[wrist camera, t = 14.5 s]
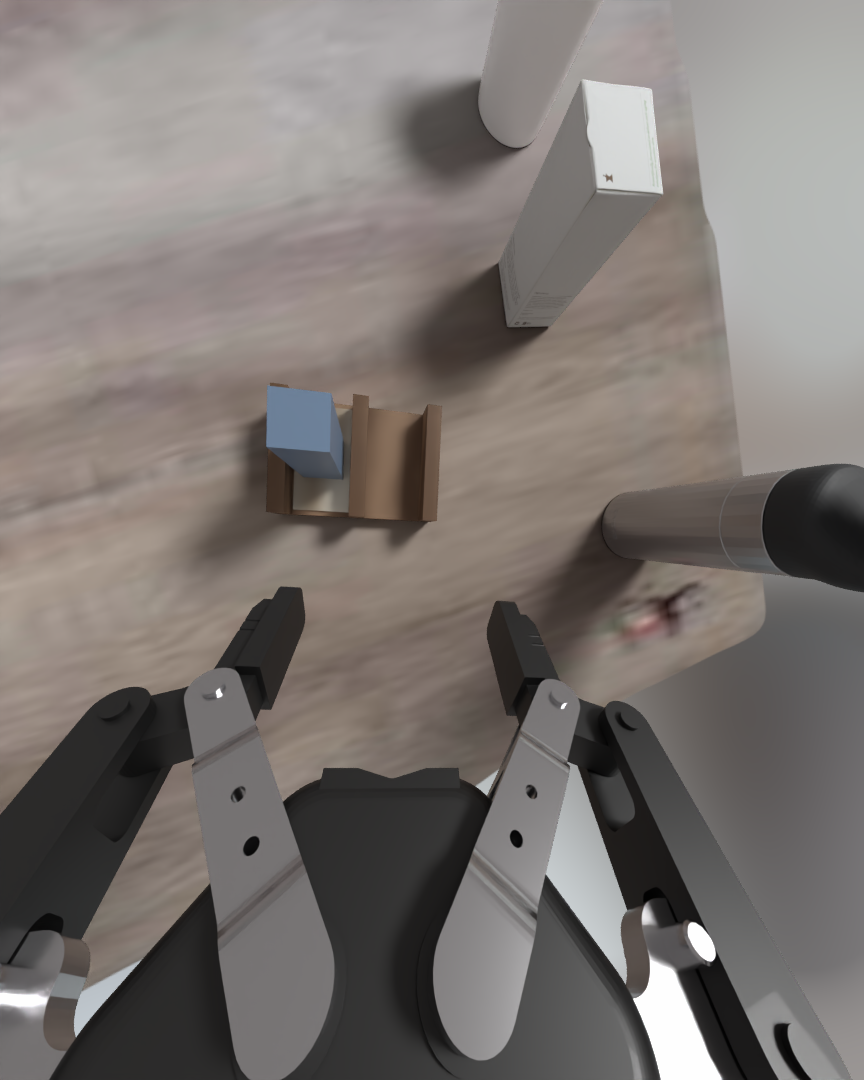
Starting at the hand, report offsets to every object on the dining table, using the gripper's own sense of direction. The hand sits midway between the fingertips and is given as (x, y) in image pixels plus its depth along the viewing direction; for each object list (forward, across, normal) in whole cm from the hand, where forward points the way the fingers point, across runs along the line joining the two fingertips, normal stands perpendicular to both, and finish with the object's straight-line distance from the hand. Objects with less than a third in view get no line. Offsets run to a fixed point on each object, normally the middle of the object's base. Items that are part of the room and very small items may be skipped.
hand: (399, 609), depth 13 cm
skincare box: (+39, -13, -17) cm, 44 cm away
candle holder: (+49, -9, -35) cm, 61 cm away
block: (+23, +9, +2) cm, 25 cm away
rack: (+25, +5, +3) cm, 26 cm away
